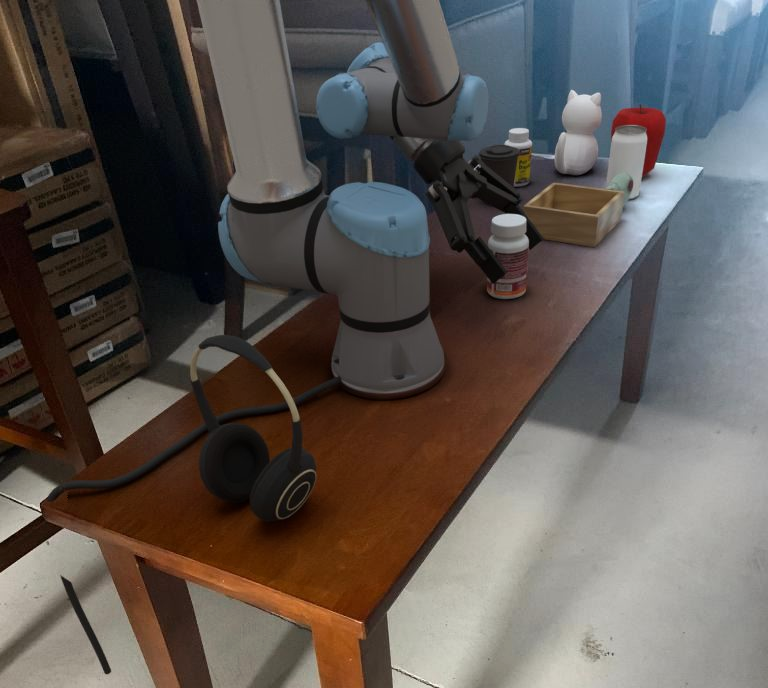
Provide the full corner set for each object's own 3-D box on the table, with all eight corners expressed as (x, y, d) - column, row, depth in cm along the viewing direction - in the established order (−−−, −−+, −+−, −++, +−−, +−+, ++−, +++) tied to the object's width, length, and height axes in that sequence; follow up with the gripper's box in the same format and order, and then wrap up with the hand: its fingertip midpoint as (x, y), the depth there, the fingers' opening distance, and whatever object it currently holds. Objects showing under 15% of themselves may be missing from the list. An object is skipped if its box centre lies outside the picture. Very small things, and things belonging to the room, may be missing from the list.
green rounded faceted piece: (617, 201, 149) (622, 164, 144) (637, 205, 147) (643, 168, 142) (598, 214, 144) (602, 177, 140) (618, 218, 142) (624, 180, 138)
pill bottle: (534, 292, 121) (539, 219, 113) (504, 304, 118) (508, 230, 111) (507, 280, 125) (510, 209, 117) (478, 291, 122) (479, 219, 115)
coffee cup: (472, 206, 151) (473, 152, 145) (483, 193, 157) (484, 140, 150) (513, 209, 149) (515, 154, 142) (522, 195, 154) (525, 142, 148)
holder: (594, 247, 133) (598, 216, 129) (521, 235, 138) (523, 205, 135) (620, 221, 141) (625, 191, 138) (550, 211, 147) (553, 182, 144)
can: (608, 201, 149) (617, 135, 141) (601, 190, 154) (609, 125, 146) (642, 199, 149) (653, 132, 141) (634, 188, 154) (643, 123, 146)
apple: (628, 187, 154) (638, 113, 146) (595, 174, 161) (603, 103, 153) (668, 176, 158) (681, 103, 149) (634, 164, 165) (644, 94, 156)
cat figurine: (605, 166, 165) (615, 88, 155) (577, 183, 158) (586, 103, 148) (567, 161, 169) (574, 84, 160) (539, 177, 162) (544, 98, 152)
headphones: (288, 551, 78) (255, 380, 65) (190, 501, 86) (143, 338, 73) (341, 506, 83) (321, 339, 70) (244, 462, 91) (209, 303, 78)
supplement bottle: (518, 189, 157) (521, 135, 151) (497, 184, 160) (499, 131, 154) (535, 182, 160) (538, 129, 153) (514, 177, 163) (516, 125, 157)
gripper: (453, 140, 125) (534, 245, 128) (372, 189, 109) (466, 307, 112) (484, 106, 119) (567, 217, 122) (402, 153, 103) (501, 279, 107)
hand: (519, 261), depth 117 cm, fingers open, 13 cm apart
